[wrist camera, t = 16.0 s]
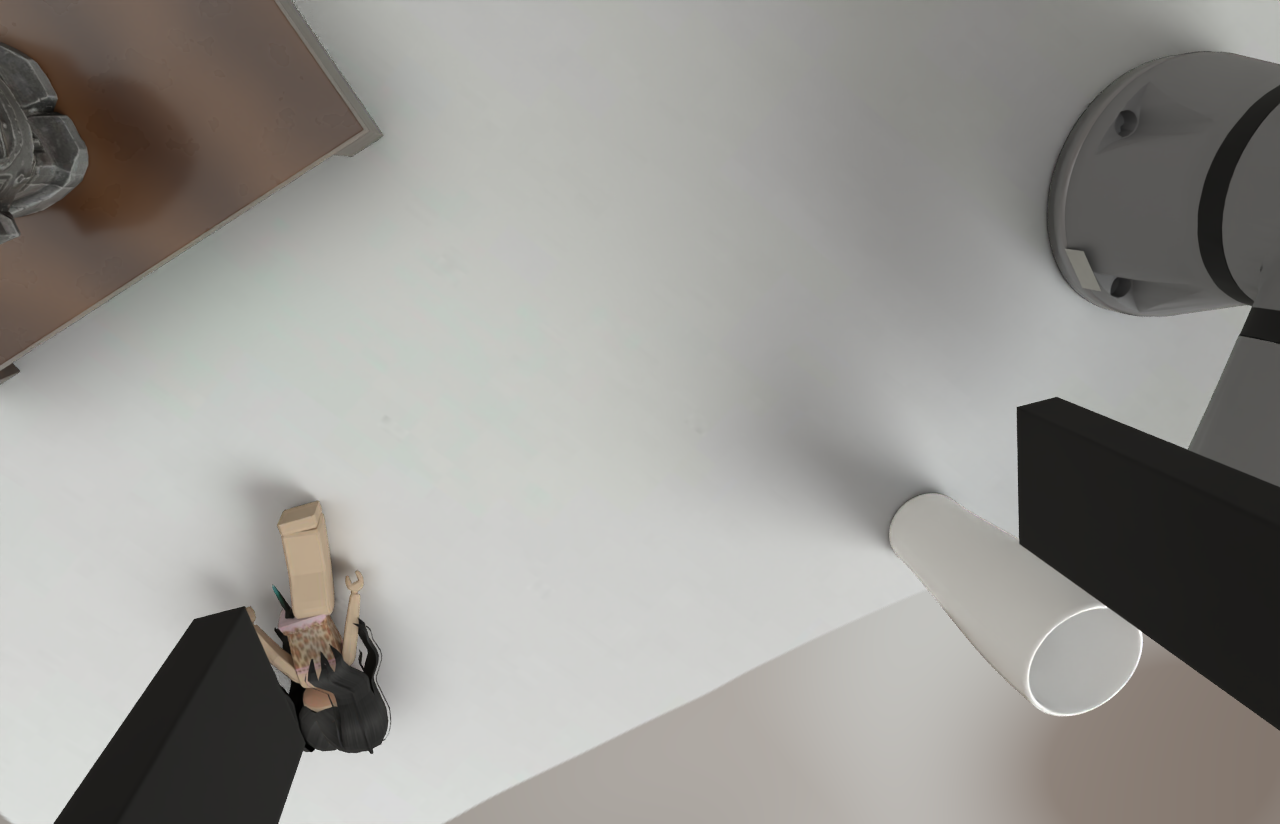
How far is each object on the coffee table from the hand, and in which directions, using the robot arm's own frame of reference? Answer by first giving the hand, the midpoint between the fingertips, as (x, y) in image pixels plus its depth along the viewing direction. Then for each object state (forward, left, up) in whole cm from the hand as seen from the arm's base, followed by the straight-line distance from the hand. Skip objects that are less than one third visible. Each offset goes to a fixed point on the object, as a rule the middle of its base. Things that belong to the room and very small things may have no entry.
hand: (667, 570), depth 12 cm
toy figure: (+18, +16, -31) cm, 39 cm away
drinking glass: (-21, +21, -31) cm, 43 cm away
